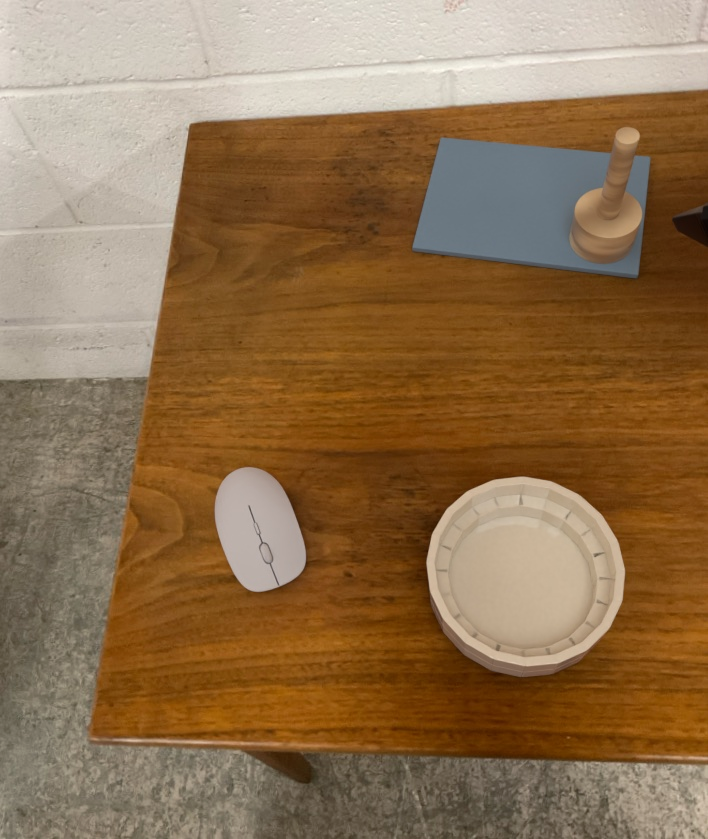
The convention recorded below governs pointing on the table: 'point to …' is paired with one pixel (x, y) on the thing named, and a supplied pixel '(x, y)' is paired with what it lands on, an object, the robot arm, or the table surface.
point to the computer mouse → (258, 530)
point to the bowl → (524, 576)
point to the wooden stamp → (609, 208)
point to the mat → (518, 204)
